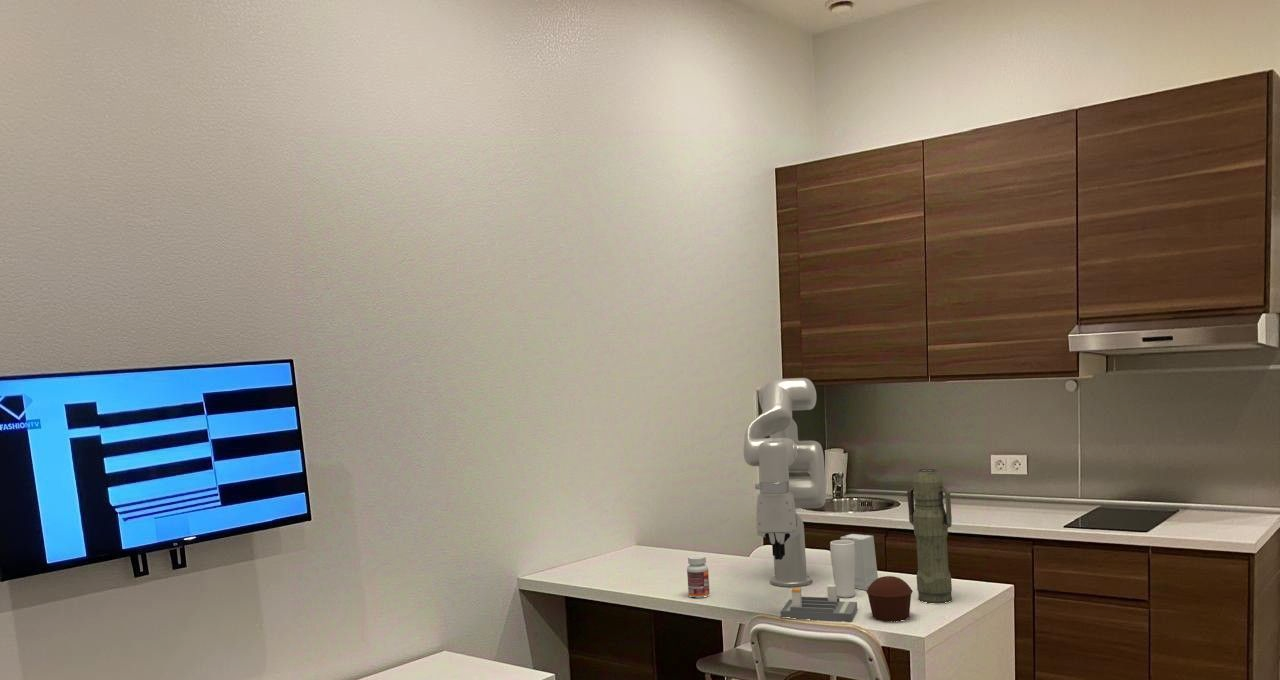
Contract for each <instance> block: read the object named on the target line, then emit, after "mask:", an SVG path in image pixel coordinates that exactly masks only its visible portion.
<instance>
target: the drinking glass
mask: <svg viewBox="0 0 1280 680" xmlns="http://www.w3.org/2000/svg"><path fill="white" fill-rule="evenodd" d="M829 544H830V547H829V549H830V560H831V567H832V573H833V582H834V585H836V591H837V598H842V597H843V599H845V598H852V597H854V596H855V595H856V590H855V589H856V588H855V545H854V542H853V541H850V540H841V539H838V540H836V539H835V540H832V541H830V542H829Z"/></svg>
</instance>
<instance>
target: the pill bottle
mask: <svg viewBox="0 0 1280 680" xmlns="http://www.w3.org/2000/svg"><path fill="white" fill-rule="evenodd" d="M687 560H688V562H687V563H688V564H689V565H688V566H687V567H686V573H687V590H688V592H687V593H688V596H691V597H704V596H708V595H709V594H710V593H711V592H710V579H709V577H710V576H709V567H708V565H706V563H707V558H706V556H705V555H703V554H701V555H700V554H695V555H693V554H692V555H690V556H687ZM709 596H710V595H709ZM709 596H708V597H709ZM691 597H690V598H691Z"/></svg>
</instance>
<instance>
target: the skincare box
mask: <svg viewBox="0 0 1280 680" xmlns="http://www.w3.org/2000/svg"><path fill="white" fill-rule="evenodd" d="M840 540H850V541H853V542H854V545H855V589H859V590H862V591H863V590H864V591H867V589H868V588H869V586H870V585H871V583H872V582H874V581H875V580H876V579H878V578H879V575H878V567H877V559H876V558H877V557H876V556H877V555H876V550H875V549H876V548H875V547H876V546H875V539H874V535H870V534H857V533H851V534H846V535H844V536H840Z"/></svg>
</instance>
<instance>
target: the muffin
mask: <svg viewBox="0 0 1280 680" xmlns="http://www.w3.org/2000/svg"><path fill="white" fill-rule="evenodd" d="M865 591H866V594H867V597H868V602H869V606H870V610H871V615H872V618H874V619H875V620H876V621H879V622H884V623H897V622H896V621H899V622H902V621H901V620H905V621H907V620H908V619H909V618H910V610H911V602H912V601H911V600H912V593H913V590H912V587H911V586H910V585H909V584H908V583H907V582H906V581H905V580H903V579H902V578H900V577H897V576H893V575H887V576H880V577H878V579H876V580H875V581H874V582H872V583H871V585H870V586H869V588H868V589H867V590H865ZM908 617H909V618H908ZM907 618H908V619H907ZM891 621H892V622H891ZM894 621H895V622H894Z"/></svg>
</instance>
